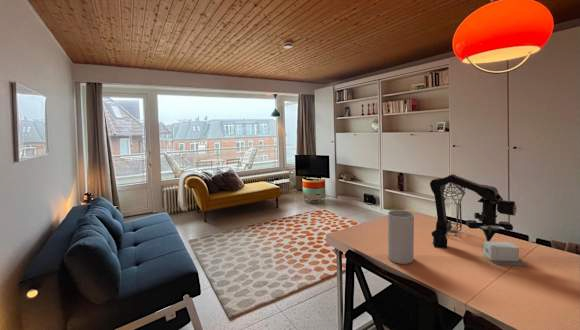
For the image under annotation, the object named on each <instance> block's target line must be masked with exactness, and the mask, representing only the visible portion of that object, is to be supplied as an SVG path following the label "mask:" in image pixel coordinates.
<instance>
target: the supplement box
mask: <svg viewBox="0 0 580 330" xmlns="http://www.w3.org/2000/svg"><path fill="white" fill-rule="evenodd" d="M483 255H484V256H485V257H486V258H488V260H489V261H492V260H494V261H518V260H519V259H520V258H519V257H520V256H519V255H520V248H519V247H518V246H517V245H515V244H514V243H512V242H510V241H483Z"/></svg>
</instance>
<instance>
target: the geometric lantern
mask: <svg viewBox="0 0 580 330" xmlns="http://www.w3.org/2000/svg"><path fill="white" fill-rule="evenodd" d="M447 185H448V186H447ZM456 189H457V190H456ZM465 190H466V188H464V187H462V186H459V185H457V184H454V183H451V182H450V183H447V184H445V190H444V202H445V201H446V199H447V200H451V199H452V200H453V201H454V202H453V203H452V202H447V204H449V205H451V204H452V205H454V204H455V205H456V223H454V222H451V225H455V226H454V227H452V229H451V231H450V232H449V233H450V234H451V236H452V237H453V236H455V237H456V236H458V233H459V232H461V231H462V226H463V225H462V223H463V222H462V220H463V219H462V200H463V198H464V196H465V195H466V192H465ZM457 192H459V193H457ZM448 194H450V195H449V196H448ZM453 194H454V195H453ZM459 195H461V197H459ZM454 197H457V198H454ZM456 200H457V201H458V203H457V201H456ZM445 203H446V202H445ZM458 229H459V230H458ZM449 233H447V235H446V236H449Z"/></svg>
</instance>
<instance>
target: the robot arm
mask: <svg viewBox="0 0 580 330" xmlns="http://www.w3.org/2000/svg"><path fill="white" fill-rule="evenodd" d="M450 182H451V183H454V184H457V185H458V186H459V187H460V186H462V187H464V188H465V189H467V190H469V191H472V192H474V193H476V194H477V195H478V196H480V197H481V198H480V199H478V201H477V202H478V203H482V207H481V208H482V210H481V213H480V212H474V215H473V216H474V219H467V220H466V222H465V223H466V224H465V225H466V226H467V228H469V229H473V230H476V229H480V230H481V231H482V232H483V234H484V236H485V240H486V242H491V240H492V239H493V237H494V236H495V234H497V232H500V230H499V228H503V229H504V230H505V231H514V226H513V224H512V223H510V222H509V221H499V222H498V223H497V218H498V214H497V213H499V214H500V215H501V214H502V215H507V216H512V217H515V216H516V214H517V205H516V201H513V200H504V199H503V197H502V196H501V194H500V193H499V191H498V188H496V187H495V186H492V185H487V184H480V183H477V182H474V181H472V180H469V179H466V178H463V177H461V176H458V175H456V174H454V173H453V174H452V173H451V174H449V175H448V176H445V177H443V178H441V177H438V178H434V179H432V180H431V181H430V182H429V186H430V188H431V192H432V193H433V195H434V201H435V209H436V216H437V221H436V223H435V224H436V225H435V230H433V231H431V236H432V237H433V238H432V245H433V247H434V248H443V249H447V248H448V237H447V236H448V235H447V234H449V232H452V231H451V230H452V229H453V226H452V224H451V223H452V221H451V220H449V219H448V218H447V212H446V210H447V209H446V202H444V197H445V195H444V194H445V192H444V191H446V189H445V188H446V187H445V184H447V183H449V184H450ZM447 185H448V184H447ZM464 188H463V189H464ZM476 219H477V220H478V221H476Z"/></svg>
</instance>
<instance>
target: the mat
mask: <svg viewBox="0 0 580 330" xmlns="http://www.w3.org/2000/svg"><path fill="white" fill-rule="evenodd" d="M491 262H493V263H494V264H495V265H501V266H502V265H503V266H512V267H525V268H526V267H528V266H527V264H526V263H525V262H523V260H522V259H520V258H519V260H518V261H494V260H491Z"/></svg>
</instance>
